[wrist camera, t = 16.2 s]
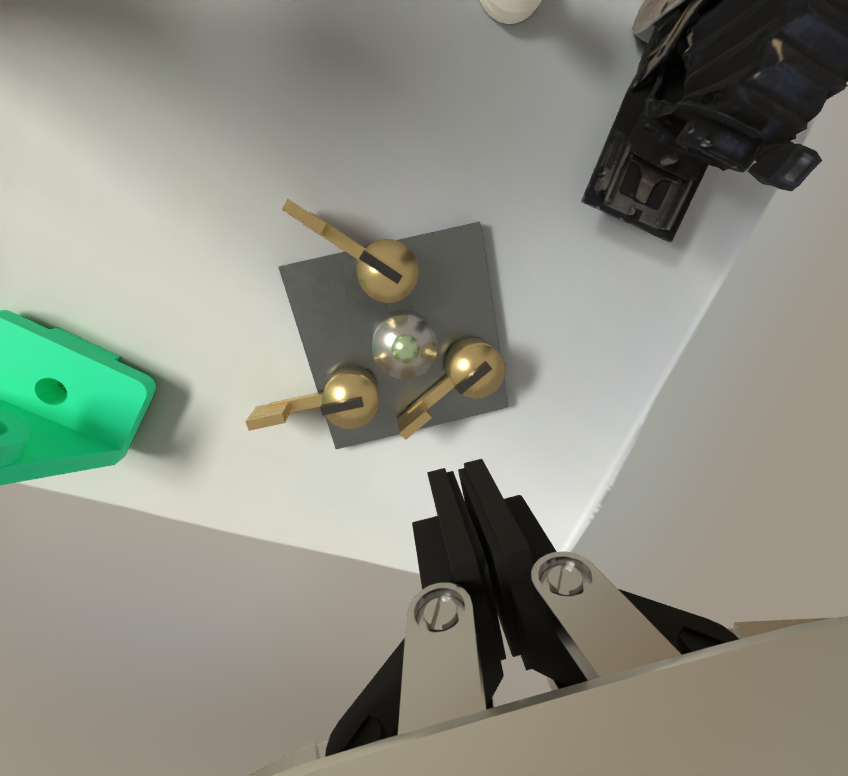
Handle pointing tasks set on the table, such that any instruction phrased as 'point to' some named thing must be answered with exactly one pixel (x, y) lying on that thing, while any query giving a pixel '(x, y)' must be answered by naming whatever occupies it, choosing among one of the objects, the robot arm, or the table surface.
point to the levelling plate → (358, 314)
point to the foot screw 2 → (328, 402)
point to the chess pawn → (510, 9)
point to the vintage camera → (718, 102)
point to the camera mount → (63, 402)
